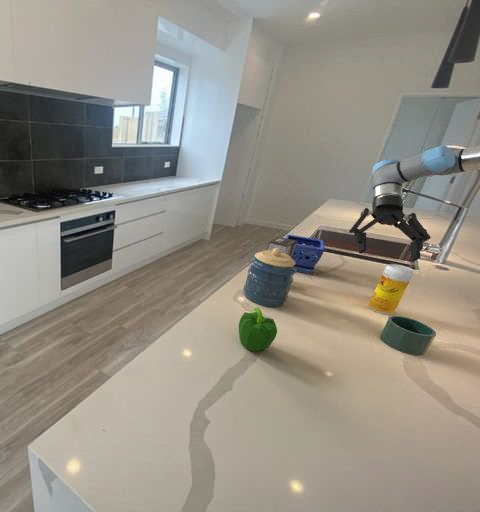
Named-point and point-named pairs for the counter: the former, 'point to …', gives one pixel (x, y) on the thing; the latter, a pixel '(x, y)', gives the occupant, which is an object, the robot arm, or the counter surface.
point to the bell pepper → (256, 331)
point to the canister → (269, 278)
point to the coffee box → (283, 245)
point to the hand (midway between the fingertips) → (388, 255)
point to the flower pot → (306, 253)
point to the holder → (407, 335)
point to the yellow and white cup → (390, 288)
